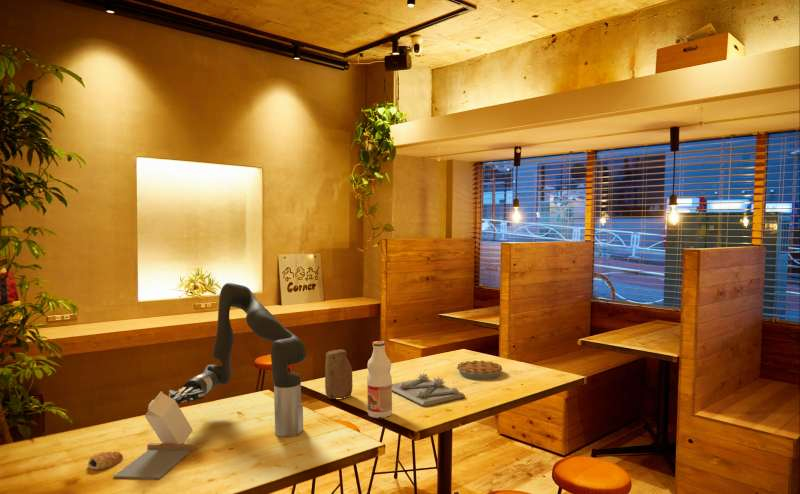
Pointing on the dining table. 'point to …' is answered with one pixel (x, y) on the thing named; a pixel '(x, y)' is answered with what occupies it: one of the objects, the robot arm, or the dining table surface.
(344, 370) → the block
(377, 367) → the fruit juice
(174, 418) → the milk carton
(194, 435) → the dining table surface
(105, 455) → the pastry
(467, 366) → the pie
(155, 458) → the grey flat board
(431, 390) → the decorative plate
